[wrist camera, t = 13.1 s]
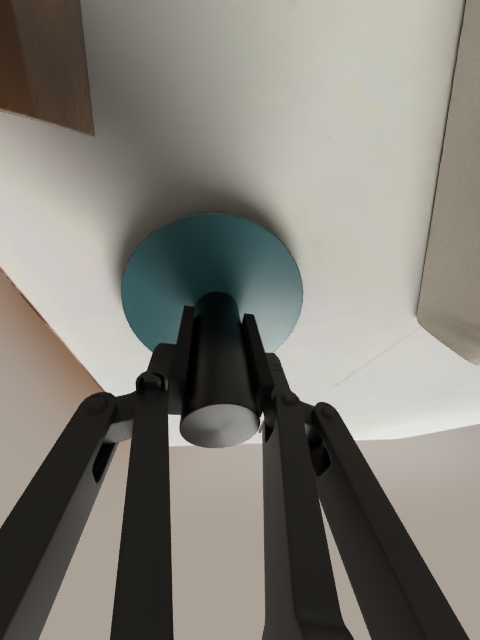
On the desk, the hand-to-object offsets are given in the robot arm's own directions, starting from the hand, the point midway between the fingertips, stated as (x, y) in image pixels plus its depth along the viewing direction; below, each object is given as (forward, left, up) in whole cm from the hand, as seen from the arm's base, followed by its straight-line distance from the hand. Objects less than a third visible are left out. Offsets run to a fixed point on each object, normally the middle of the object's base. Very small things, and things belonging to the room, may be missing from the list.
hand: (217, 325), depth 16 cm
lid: (0, 0, -3) cm, 3 cm away
